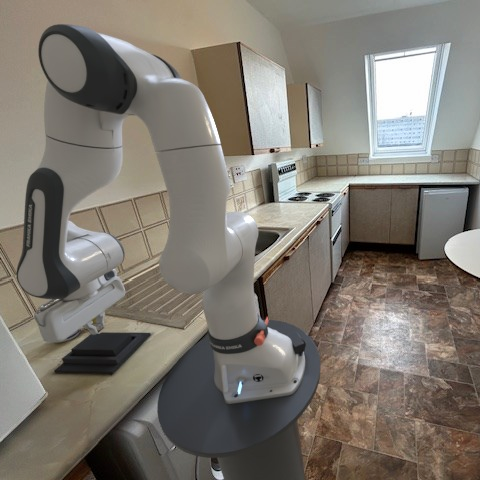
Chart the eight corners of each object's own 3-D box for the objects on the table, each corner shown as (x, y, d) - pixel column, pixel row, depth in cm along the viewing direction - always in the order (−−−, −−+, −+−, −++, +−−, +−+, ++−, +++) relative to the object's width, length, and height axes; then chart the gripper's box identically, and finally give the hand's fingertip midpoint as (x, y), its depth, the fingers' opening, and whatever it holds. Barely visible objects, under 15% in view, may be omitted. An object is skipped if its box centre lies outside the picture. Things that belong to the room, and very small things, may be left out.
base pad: (150, 334, 79) (148, 328, 78) (112, 374, 66) (109, 367, 65) (101, 334, 80) (99, 328, 79) (55, 372, 67) (51, 365, 66)
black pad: (133, 342, 75) (130, 333, 74) (116, 359, 69) (112, 350, 68) (95, 342, 76) (91, 333, 75) (75, 358, 70) (70, 349, 69)
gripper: (44, 311, 55) (71, 361, 60) (120, 266, 74) (137, 307, 79) (17, 311, 56) (47, 361, 61) (100, 267, 75) (117, 308, 80)
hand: (98, 330), depth 70 cm, fingers closed
